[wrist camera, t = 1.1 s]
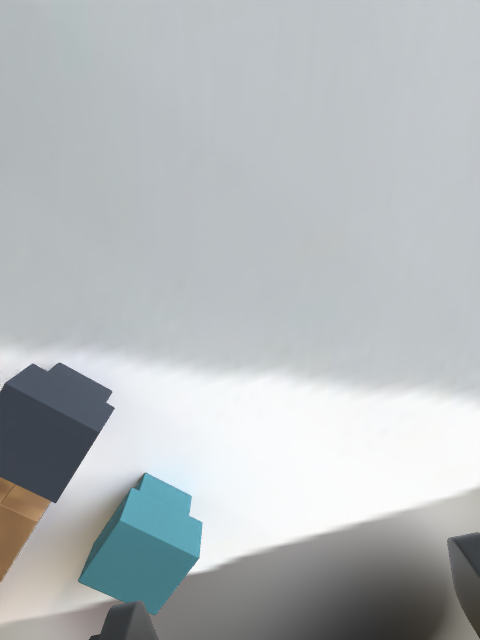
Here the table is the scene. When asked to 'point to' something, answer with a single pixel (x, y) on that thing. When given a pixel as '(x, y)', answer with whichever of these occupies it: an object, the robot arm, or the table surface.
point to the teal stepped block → (145, 546)
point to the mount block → (17, 520)
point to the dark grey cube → (49, 427)
